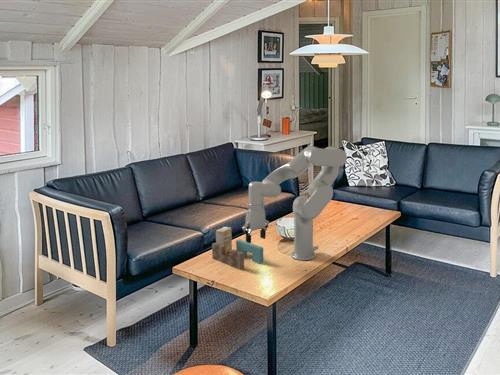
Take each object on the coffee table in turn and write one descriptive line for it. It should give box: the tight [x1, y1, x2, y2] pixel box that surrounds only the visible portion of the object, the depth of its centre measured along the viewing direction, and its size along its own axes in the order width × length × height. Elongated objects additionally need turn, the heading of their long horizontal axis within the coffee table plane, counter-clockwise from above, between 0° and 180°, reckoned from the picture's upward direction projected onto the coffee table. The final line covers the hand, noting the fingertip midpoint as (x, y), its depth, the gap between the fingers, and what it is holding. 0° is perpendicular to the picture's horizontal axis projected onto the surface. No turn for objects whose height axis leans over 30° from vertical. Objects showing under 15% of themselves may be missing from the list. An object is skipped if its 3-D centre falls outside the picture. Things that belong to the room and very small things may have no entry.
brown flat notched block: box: [211, 242, 245, 271], centre depth 252 cm, size 22×2×8 cm, turn 42°
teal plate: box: [235, 239, 264, 265], centre depth 257 cm, size 18×2×8 cm, turn 42°
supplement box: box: [215, 226, 233, 254], centre depth 267 cm, size 8×5×13 cm, turn 148°
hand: (255, 240), depth 251 cm, fingers open, 9 cm apart
